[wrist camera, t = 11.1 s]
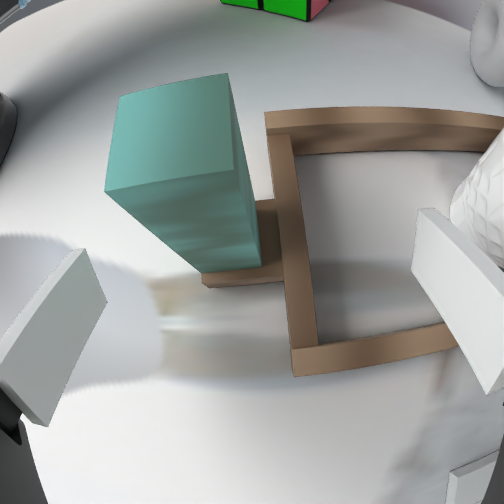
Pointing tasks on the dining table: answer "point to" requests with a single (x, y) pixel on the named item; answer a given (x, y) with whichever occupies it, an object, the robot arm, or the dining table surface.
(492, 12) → the donut
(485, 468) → the broken strip
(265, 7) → the puzzle cube
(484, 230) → the white cup
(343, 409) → the dining table surface
